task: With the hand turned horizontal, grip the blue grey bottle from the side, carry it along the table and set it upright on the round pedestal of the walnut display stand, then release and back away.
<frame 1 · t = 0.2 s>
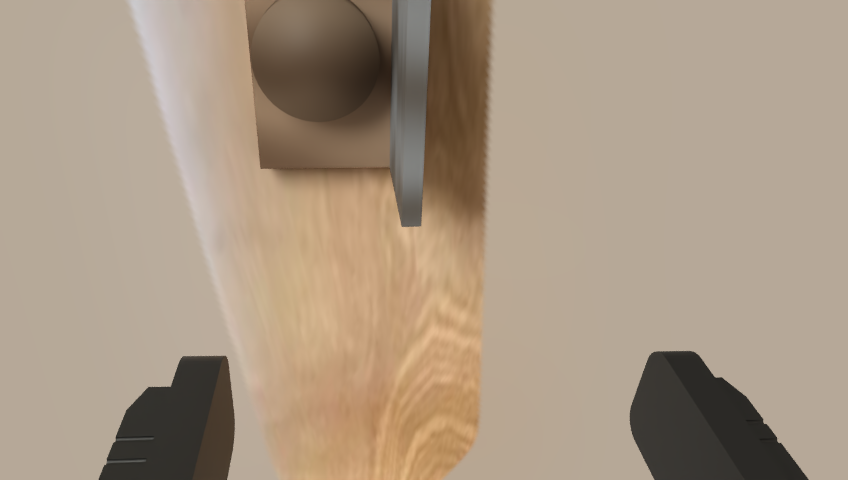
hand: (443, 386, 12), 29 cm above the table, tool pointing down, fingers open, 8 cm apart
display stand: (331, 47, 36), on the table
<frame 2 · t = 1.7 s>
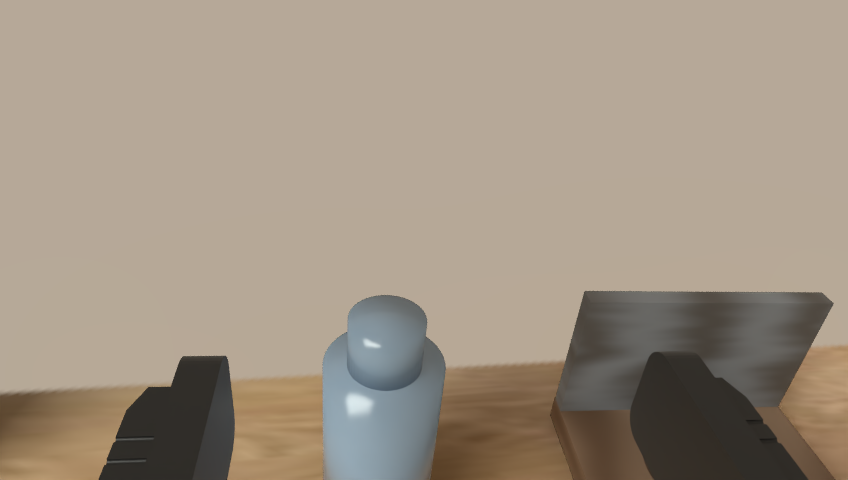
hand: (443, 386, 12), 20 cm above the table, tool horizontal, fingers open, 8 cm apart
display stand: (690, 472, 35), on the table
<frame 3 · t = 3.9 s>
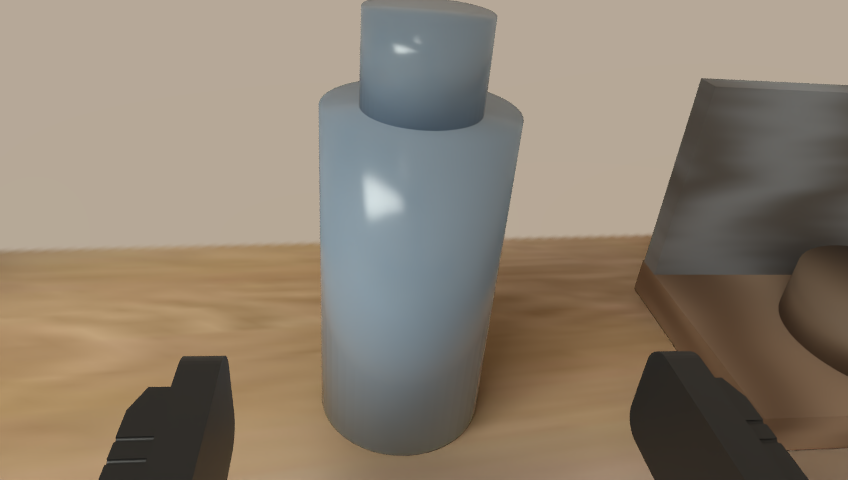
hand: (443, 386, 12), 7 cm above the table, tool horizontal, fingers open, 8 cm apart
blue grey bottle: (399, 393, 21), on the table
display stand: (845, 353, 24), on the table
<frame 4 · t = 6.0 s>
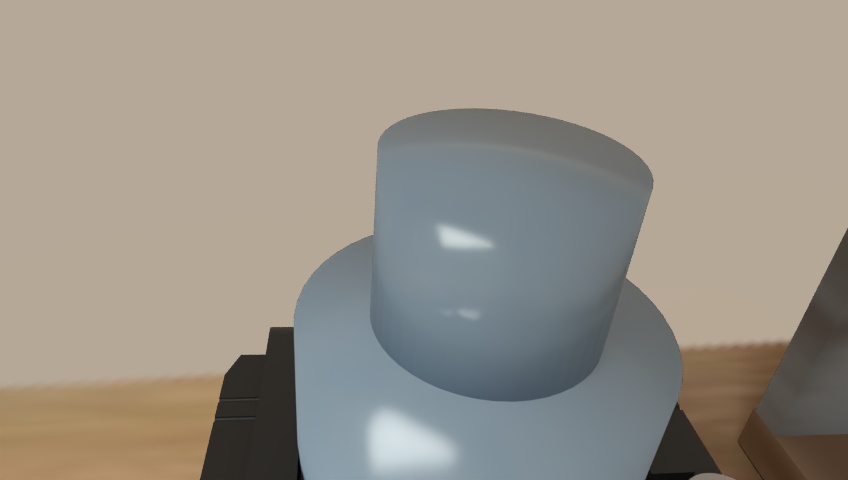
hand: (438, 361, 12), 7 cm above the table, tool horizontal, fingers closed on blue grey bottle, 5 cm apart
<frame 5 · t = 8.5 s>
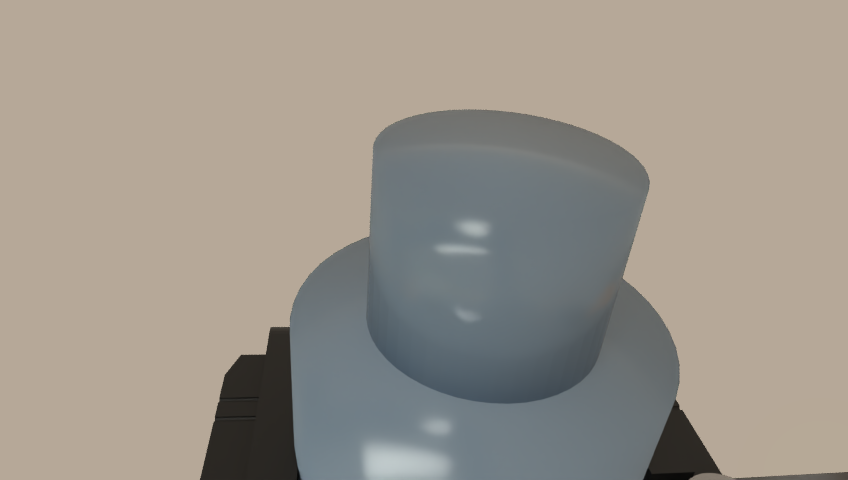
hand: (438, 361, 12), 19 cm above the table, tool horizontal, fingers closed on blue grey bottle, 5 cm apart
when the fingers open (12 cm above the table, at t = 11.0 s): blue grey bottle drops 1 cm, resting on display stand.
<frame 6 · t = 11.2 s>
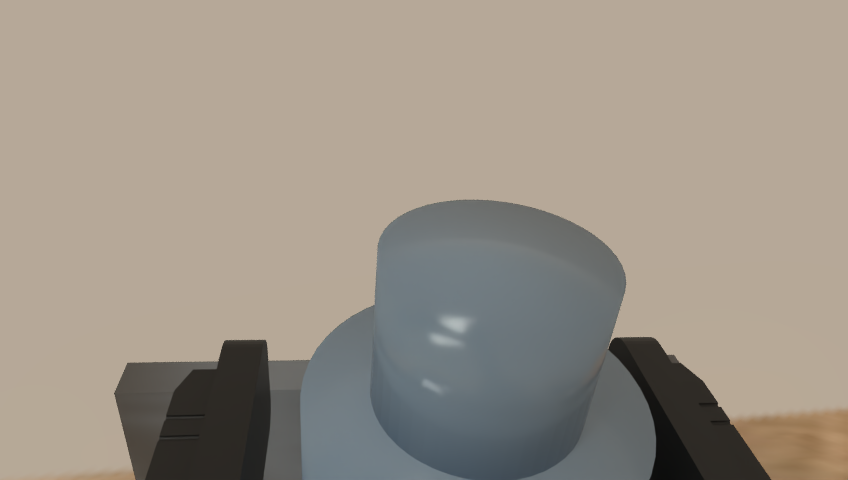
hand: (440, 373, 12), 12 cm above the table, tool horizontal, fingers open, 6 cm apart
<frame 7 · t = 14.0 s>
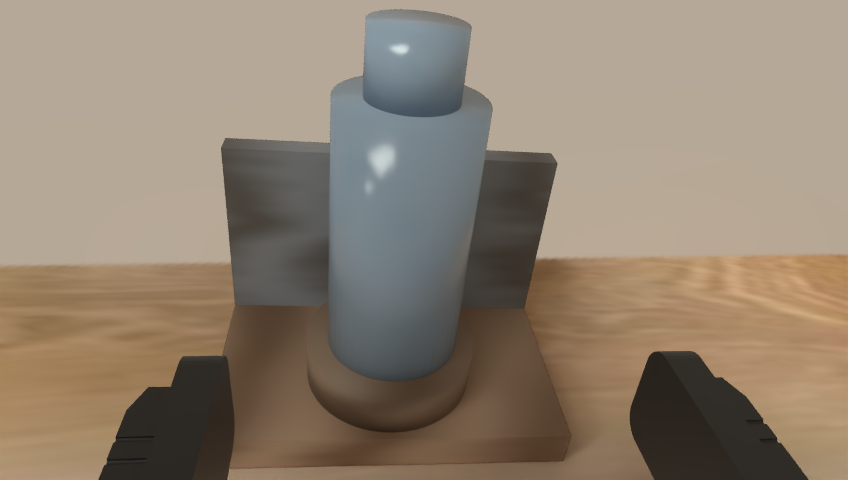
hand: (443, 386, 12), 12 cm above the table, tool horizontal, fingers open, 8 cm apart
blue grey bottle: (391, 335, 25), point 4 cm above the table, touching display stand
display stand: (385, 380, 28), on the table
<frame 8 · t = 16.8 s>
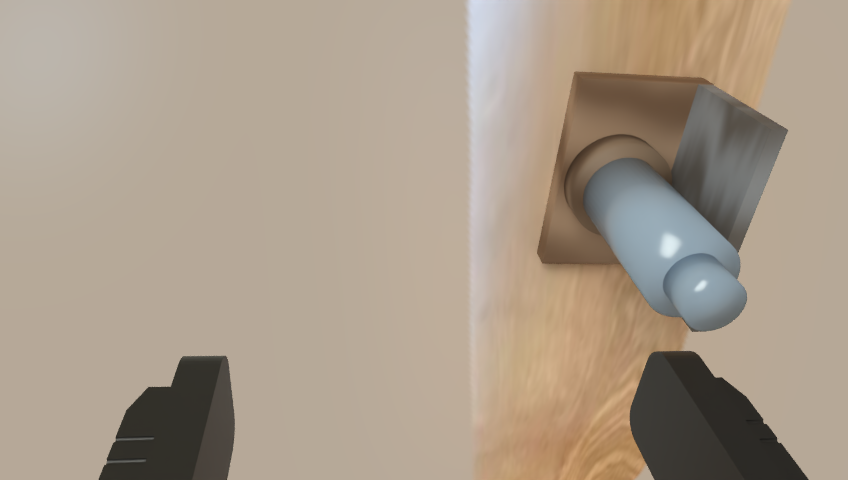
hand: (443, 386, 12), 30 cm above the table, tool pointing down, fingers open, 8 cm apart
blue grey bottle: (620, 193, 41), point 4 cm above the table, touching display stand
display stand: (614, 171, 44), on the table
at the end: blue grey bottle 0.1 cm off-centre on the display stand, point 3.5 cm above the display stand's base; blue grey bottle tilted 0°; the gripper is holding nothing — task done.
